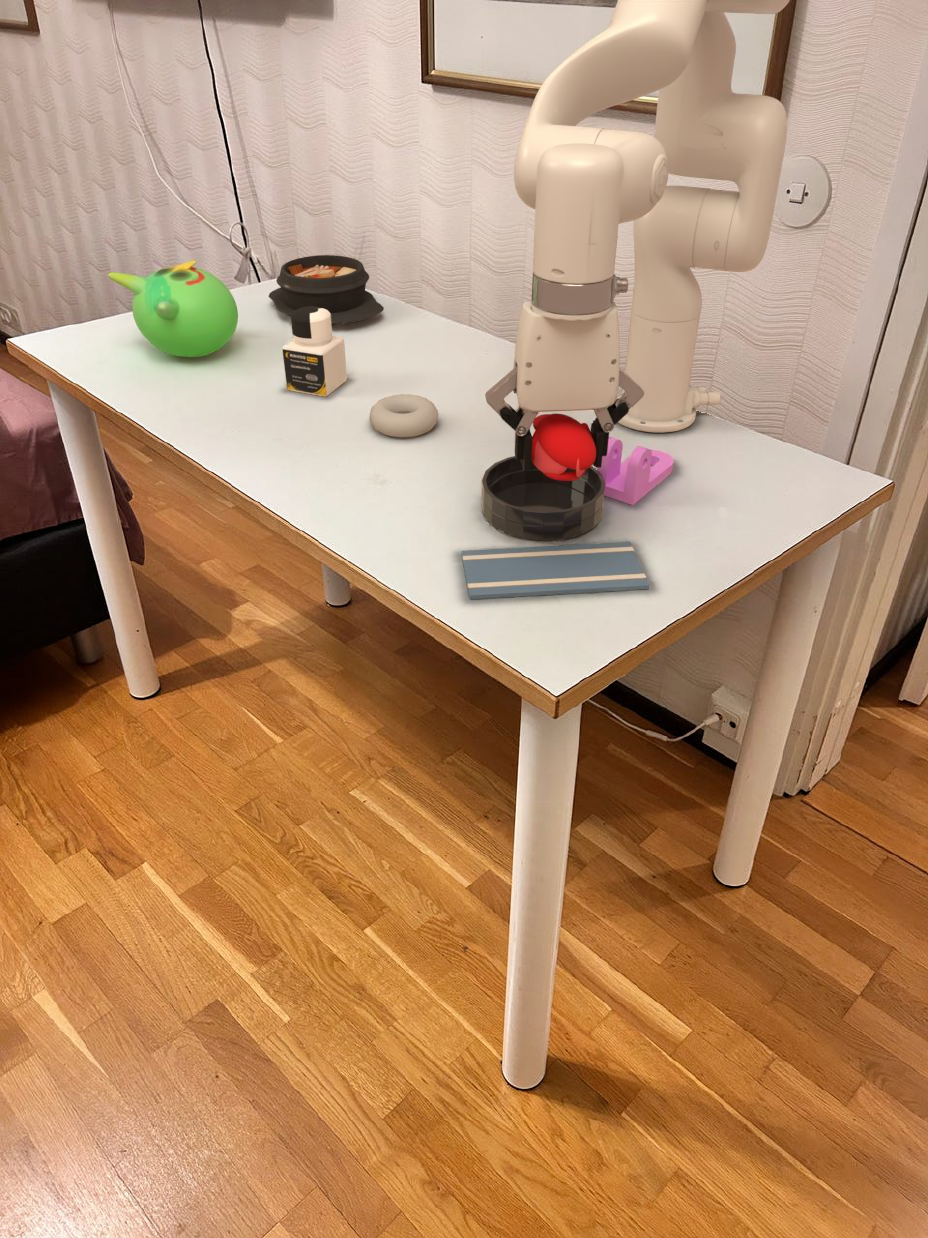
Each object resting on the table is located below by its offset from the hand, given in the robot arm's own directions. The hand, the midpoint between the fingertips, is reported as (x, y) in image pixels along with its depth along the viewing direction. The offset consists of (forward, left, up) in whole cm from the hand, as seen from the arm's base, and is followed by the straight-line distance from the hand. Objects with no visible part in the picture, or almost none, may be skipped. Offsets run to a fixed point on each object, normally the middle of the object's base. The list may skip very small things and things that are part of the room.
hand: (560, 462), depth 98 cm
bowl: (-1, -13, -14) cm, 19 cm away
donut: (+15, -39, -14) cm, 44 cm away
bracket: (-15, -20, -14) cm, 29 cm away
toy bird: (+50, -71, -14) cm, 88 cm away
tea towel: (0, 0, -14) cm, 14 cm away
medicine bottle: (+28, -55, -14) cm, 64 cm away
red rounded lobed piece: (0, 0, -1) cm, 1 cm away
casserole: (+27, -90, -14) cm, 95 cm away
